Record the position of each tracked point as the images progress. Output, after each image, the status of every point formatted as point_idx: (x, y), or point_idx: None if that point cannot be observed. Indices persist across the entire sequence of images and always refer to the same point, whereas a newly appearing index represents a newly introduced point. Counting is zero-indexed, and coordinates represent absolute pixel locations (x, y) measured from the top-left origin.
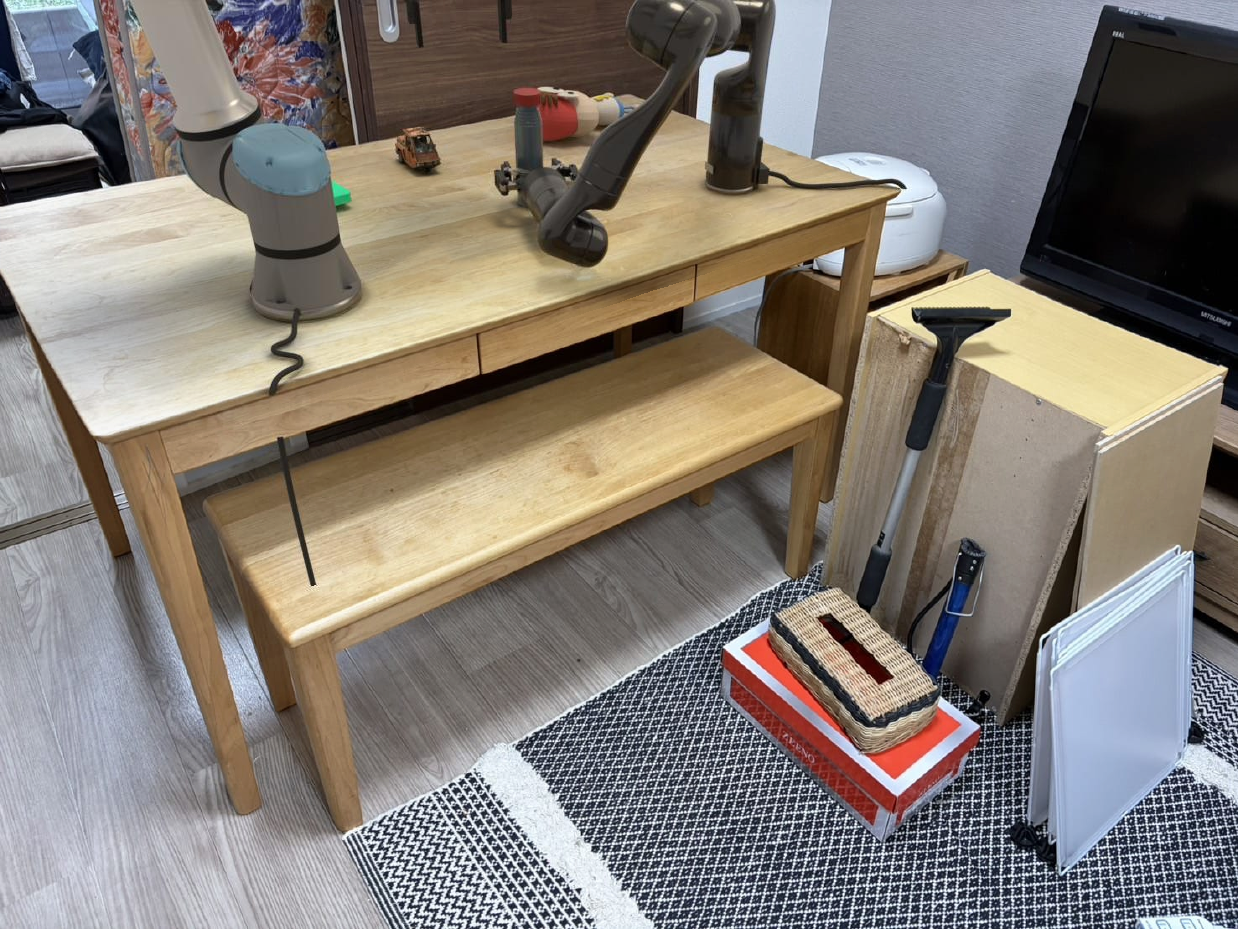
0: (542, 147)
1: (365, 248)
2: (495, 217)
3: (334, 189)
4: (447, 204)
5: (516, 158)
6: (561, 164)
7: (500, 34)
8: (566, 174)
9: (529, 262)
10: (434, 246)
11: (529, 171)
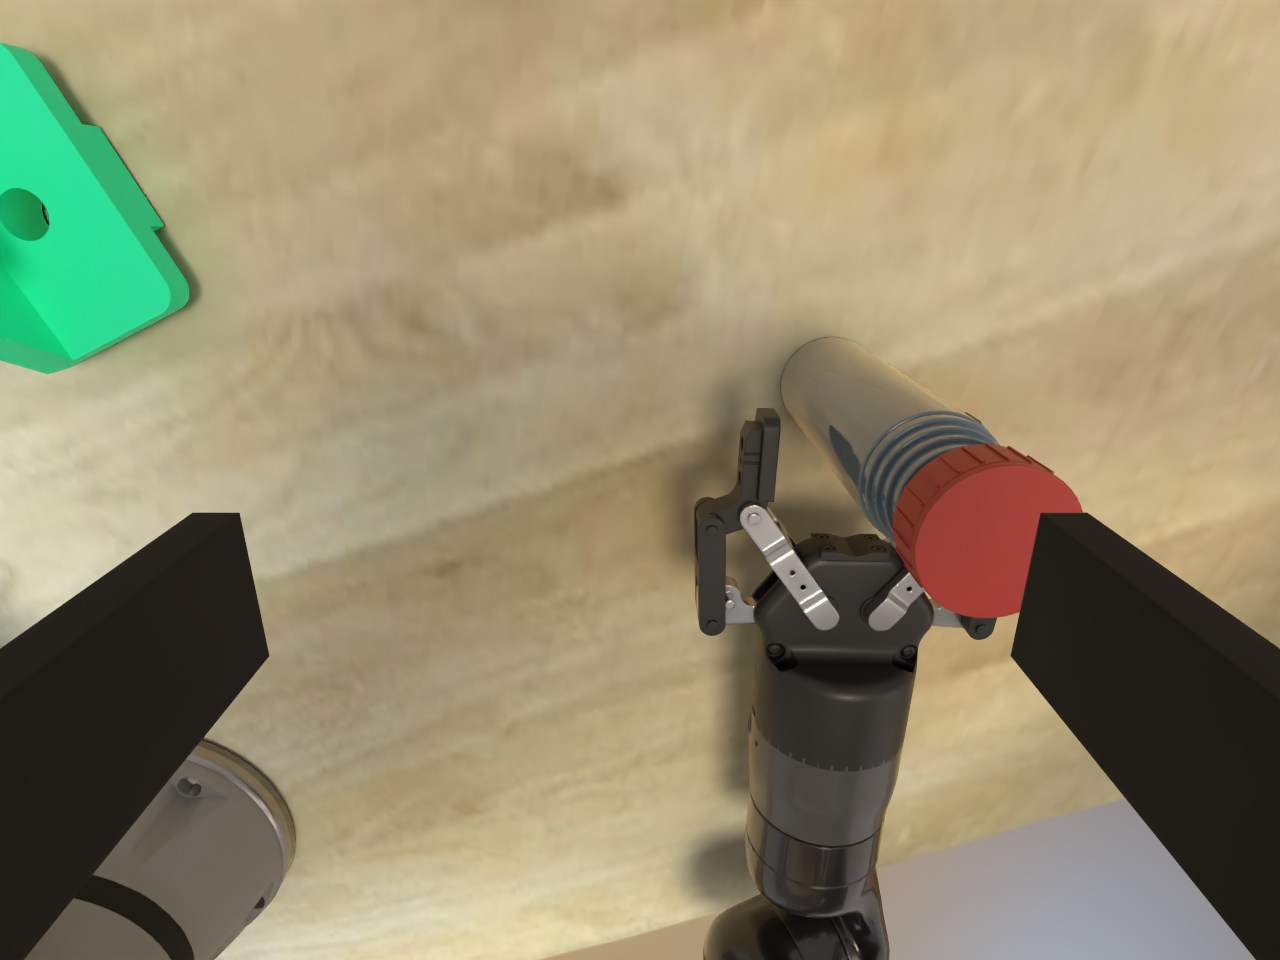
0: None
1: (281, 609)
2: (679, 480)
3: (104, 252)
4: (540, 334)
5: (817, 439)
6: None
7: (1057, 603)
8: None
9: (700, 767)
10: (472, 636)
11: (817, 611)
